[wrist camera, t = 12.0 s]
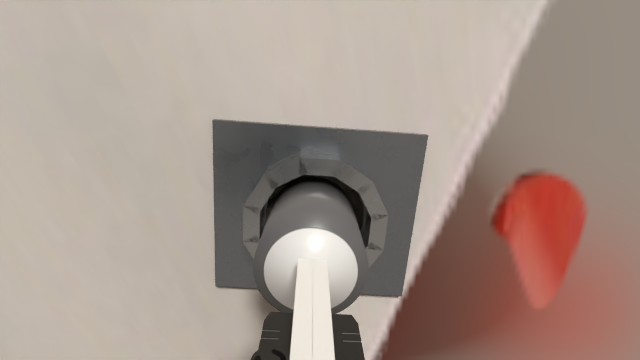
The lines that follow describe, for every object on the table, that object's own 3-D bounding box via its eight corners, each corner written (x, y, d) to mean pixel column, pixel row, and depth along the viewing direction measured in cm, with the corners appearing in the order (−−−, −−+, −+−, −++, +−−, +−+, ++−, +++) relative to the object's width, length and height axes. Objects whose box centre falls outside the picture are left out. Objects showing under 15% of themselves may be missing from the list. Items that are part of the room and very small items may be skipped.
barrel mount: (217, 282, 28) (206, 304, 26) (214, 119, 25) (201, 123, 22) (400, 292, 29) (409, 315, 26) (425, 134, 25) (440, 140, 22)
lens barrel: (269, 249, 27) (250, 318, 19) (273, 173, 25) (253, 213, 17) (348, 255, 27) (362, 325, 19) (357, 179, 25) (376, 222, 17)
